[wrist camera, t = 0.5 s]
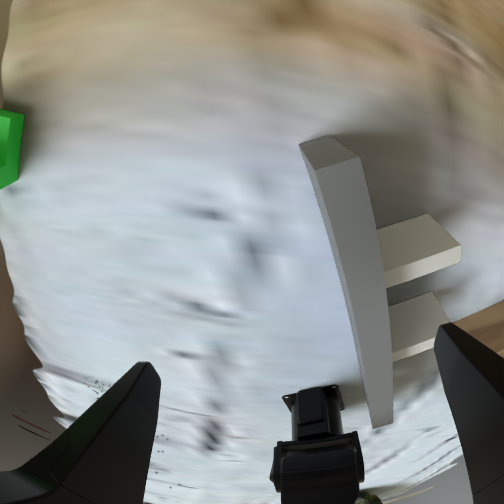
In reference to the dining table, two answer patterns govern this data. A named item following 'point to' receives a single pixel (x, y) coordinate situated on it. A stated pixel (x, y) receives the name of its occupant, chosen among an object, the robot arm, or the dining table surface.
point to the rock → (367, 499)
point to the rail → (487, 327)
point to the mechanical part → (10, 146)
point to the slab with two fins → (377, 270)
